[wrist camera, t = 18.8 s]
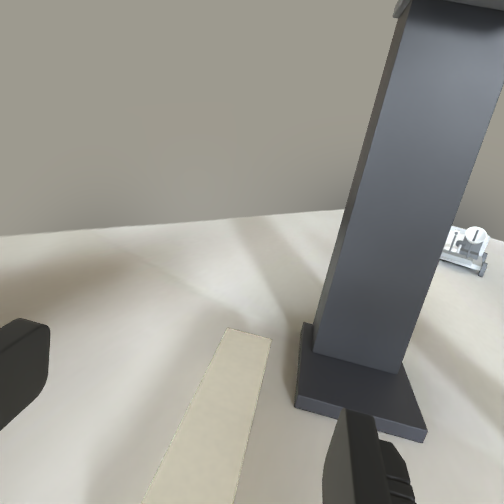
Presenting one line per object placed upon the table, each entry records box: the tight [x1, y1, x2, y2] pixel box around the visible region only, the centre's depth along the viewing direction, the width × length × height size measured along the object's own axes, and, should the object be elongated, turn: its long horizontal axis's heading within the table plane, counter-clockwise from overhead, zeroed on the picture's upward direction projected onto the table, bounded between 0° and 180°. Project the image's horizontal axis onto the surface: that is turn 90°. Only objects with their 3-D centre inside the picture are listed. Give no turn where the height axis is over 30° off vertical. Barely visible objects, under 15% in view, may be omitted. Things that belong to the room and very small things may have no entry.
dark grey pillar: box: [294, 0, 504, 443], centre depth 32 cm, size 10×13×32 cm
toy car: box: [440, 226, 490, 277], centre depth 89 cm, size 18×10×12 cm
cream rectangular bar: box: [141, 328, 272, 504], centre depth 23 cm, size 4×24×3 cm, turn 171°
